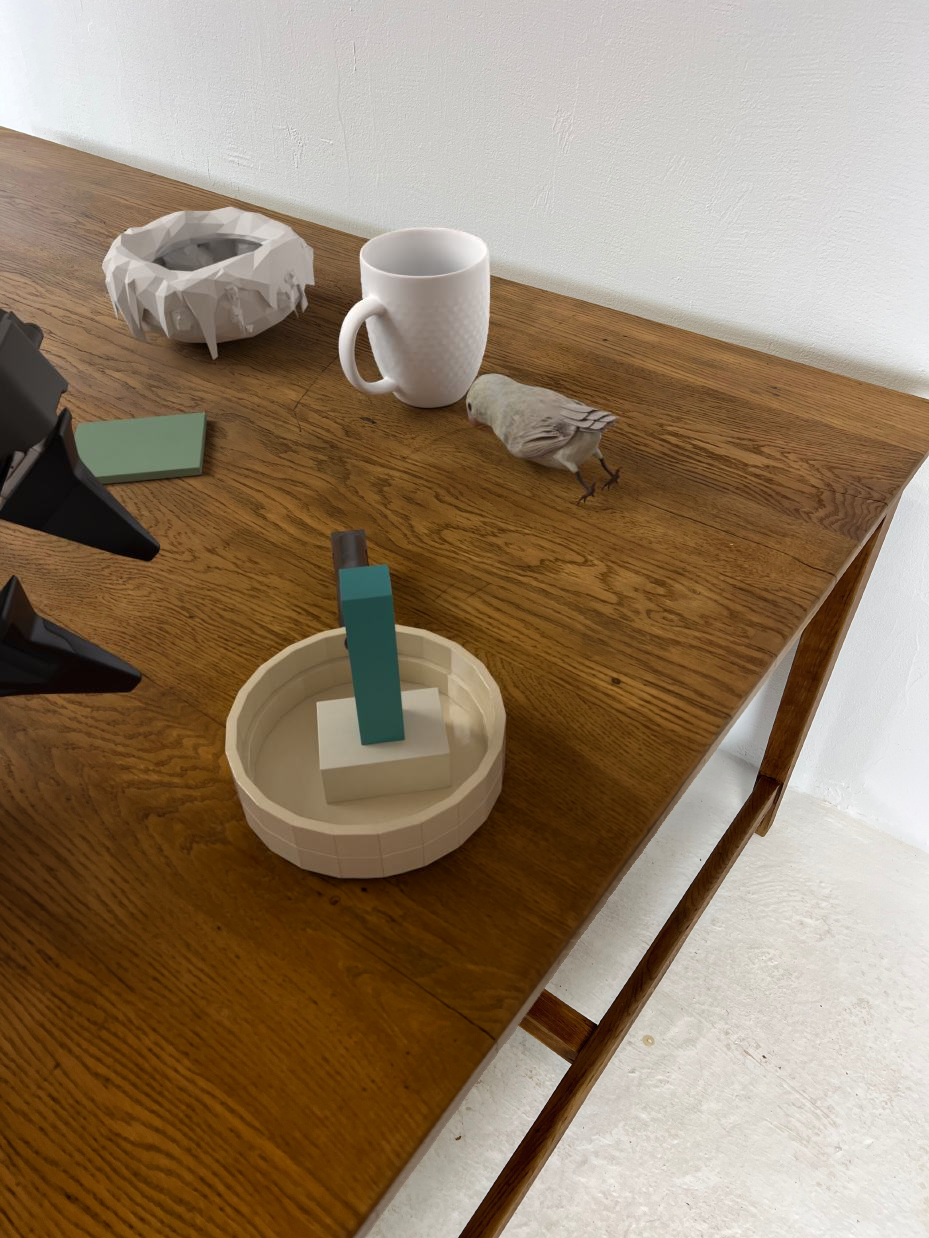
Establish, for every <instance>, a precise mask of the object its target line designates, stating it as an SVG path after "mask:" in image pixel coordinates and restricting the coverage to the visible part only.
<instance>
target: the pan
mask: <svg viewBox="0 0 929 1238" xmlns="http://www.w3.org/2000/svg"><path fill="white" fill-rule="evenodd" d="M395 630H396V641H397V652H398V664H399V675H400V687H401V692H402V691H411V690H419V689H427V688H435V687H438V690H439V696H440V701H441V707H442V712H443V717H444V723H445V728H446V734H447V739H448V745H449V750H450V765H451V787H448V788H440V789H433V790H425V791H418V792H410V793H403V794H395V795H388V796H380V797H373V798H365V799H358V800H350V801H343V802H335V803H328V804H327V803H326V799H325V793H324V788H323V783H322V777H321V772H320V759H319V739H318V720H317V702H321V701H329V700H337V699H345V698H353V697H355V695H354V688H353V680H352V673H351V666H350V658H349V651H348V650H347V649H346V647H345V645H344V642H345V639H346V629H345V627H342V628H339V627H338V628H333V629H329V630H323V631H321V632H318V633H316V634H314V635H311V636H309V637H306V638H304V639H301V640H300V641H297V642H295V643H292V644H291V645H288V646H286V647H285V648H284V649H282V650H281V651H280V652H278V653H277V654H275V655H274V656H272V657H271V658H270V659H268V660H267V661H266V662H264V663H262V664H261V665H259V667H258V668H257V669H256V670H255V672H253V674H252V675H251V676H250V678H249V679H248V680H247V681H246V682H245V683H244V684H243V685H242V687H241V688H240V689H239V691H238V692H237V695H236V697H235V699H234V702H233V704H232V707H231V709H230V710H229V713H228V716H227V718H226V723H225V724H226V725H225V743H224V744H225V747H224V751H225V756H226V760H227V763H228V767H229V770H230V773H231V776H232V780H233V783H234V787H235V791H236V794H237V798H238V800H239V802H240V806H241V808H242V811H243V814H244V817H245V819H246V823H247V824H248V826H249V827H250V829H252V831H253V832H254V833H255V834H256V835H257V837H258V838H259V839H260V840H261V842H262V843H264V844H265V846H266V847H267V848H268V850H270V851H271V852H273V853H275V854H277V855H278V856H280V857H281V858H283V859H285V860H287V861H288V862H290V863H291V864H293V865H296V866H297V867H299V868H300V869H302V870H305V871H310V872H314V873H317V874H321V875H325V876H330V877H333V878H336V879H337V878H338V879H378V878H380V879H381V878H387V877H390V876H391V877H392V876H395V875H400V874H404V873H408V872H411V871H414V870H417V869H421V868H424V867H426V866H428V865H431V864H432V863H433V862H435V861H437V860H439V859H441V858H442V857H445V856H446V855H448V854H450V853H451V852H453V851H455V850H457V849H459V847H461V846H462V845H463V844H464V843H465V842H466V841H467V840H468V839H469V838H470V837H471V836H472V835H473V834H474V833H475V832H476V831H477V830H478V829H479V828H480V827H481V826H482V825H483V824H484V823H485V822H486V821H487V819H488V817H489V815H490V813H491V812H492V810H493V807H494V805H495V803H496V802H497V800H498V798H499V796H500V794H501V792H502V789H503V780H504V773H505V765H506V743H507V742H506V741H507V713H506V709H505V705H504V701H503V697H502V693H501V689H500V687H499V685H498V683H497V682H496V680H495V679H494V677H493V676H492V675H491V673H490V672H489V670H488V669H487V667H486V666H485V664H484V663H483V662H482V661H481V660H480V659H478V658H477V657H476V656H475V655H473V654H472V653H471V652H469V651H468V650H466V648H464V647H463V646H462V645H461V644H459V643H457V642H456V641H453V640H451V639H449V638H446V637H444V636H441V635H439V634H437V633H434V632H432V631H430V630H427V629H424V628H418V627H412V626H406V625H402V624H397V623H395Z"/></svg>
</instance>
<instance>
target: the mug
mask: <svg viewBox="0 0 929 1238" xmlns="http://www.w3.org/2000/svg"><path fill="white" fill-rule="evenodd" d="M490 263H491V262H490V248H489V246H488V244H487V243H486V242H485V241H484V239H482V238H480V237H478V236H477V235H474V234H472V233H469V232H467V231H464V230H459V229H455V228H454V229H453V228H449V227H446V228H445V227H437V226H436V227H435V226H428V227H427V226H423V227H422V226H420V227H410V228H402V229H396V230H392V231H389V232H386V233H382V234H380V235H377V236H375V237H373V238H371V239H370V240H368V241H367V242H366V243H364V244H363V246H362V247H361V249H360V252H359V268H360V283H361V293H362V294H361V297H362V299H361V300H360V301H358V302H356V303H355V304H354V305H353V306H352V307H351V308H350V310H349V311H348V313H347V314H346V315H345V317H344V319H343V321H342V324H341V328H340V332H339V338H338V354H339V360H340V365H341V368H342V371H343V373H344V375H345V377H346V379H347V380H348V382H349V383H350V384H351V385H352V386H353V387H354V388H355V389H356V390H358V391H360V392H362V393H363V394H367V395H373V396H379V395H388V394H391V393H392V394H393V395H394V396H395V397H396V399H398V400H399V401H400V402H403V403H404V404H406V405H409V406H412V407H415V408H416V407H417V408H425V409H434V408H435V409H436V408H442V407H447V406H450V405H453V404H454V403H457V402H459V400H461V399H462V398H463V397H465V395H466V394H467V393H468V391H469V389H470V387H471V385H472V384H473V383H474V381H475V380H476V377H477V376H478V373H479V370H480V368H481V365H482V362H483V358H484V355H485V351H486V346H487V342H488V334H489V326H490V316H491V315H490V305H491V290H490V289H491V273H490V272H491V271H490V268H491V265H490ZM364 322H365V324H366V325H365V326H366V331H367V334H368V335H367V336H368V339H369V344H370V347H371V353H372V354H373V357H374V361H375V363H376V366H377V368H378V370H379V373H380V374H381V376H382V378H383V379H380V380H378V381H374V382H368V381H366V380H364V379H363V378H362V377H361V375H360V373H359V371H358V367H357V363H356V359H355V358H356V357H355V347H356V339H357V334H358V332H359V329H360V327H362V324H363V323H364Z"/></svg>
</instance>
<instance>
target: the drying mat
mask: <svg viewBox="0 0 929 1238" xmlns="http://www.w3.org/2000/svg"><path fill="white" fill-rule="evenodd" d="M206 413H207V412H205V411H203V412H192V413H191V412H190V413H181V414H169V415H158V416H147V417H134V418H125V419H115V420H114V419H113V420H103V421H90V422H81V423H80V422H79V423H78V424H77V427H76V429H75V430H76V431H75V433H74V438H75V442H76V446H77V450H78V454H79V456H80V458H81V460H82V461H83V463H84V464H85V465H86V466H87V467H88V469H89V470H90V471H91V472H92V473H93V474H94V476H95V477H96V478H97V479H98V480H99V481H100V482H101V484H102V485H109V484H110V485H111V484H119V483H129V482H141V481H152V480H161V479H162V480H163V479H171V478H172V479H173V478H182V477H193V476H202V474H203V465H204V464H203V462H204V454H205V444H206V432H207V423H208V422H207V421H208V418H207V414H206Z"/></svg>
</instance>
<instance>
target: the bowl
mask: <svg viewBox="0 0 929 1238" xmlns="http://www.w3.org/2000/svg"><path fill="white" fill-rule="evenodd" d="M314 257H315V256H314V248H312V247H311V246H310V245H309V244H307V242H306V241H305V239H303V238H302V237H301V236H299V234H298V233H296V232H295V231H294V230H293V229H292V226H289V225H287V224H285V223H282V222H280V221H277V220H274V219H272V218H271V217H268V216H266V215H264V214H262V213H260V212H253V211H251V212H250V211H245V210H244V209H243V210H242V209H239V208H237V207H233V206H227V207H223V208H217V209H214V210H180V211H175V212H172V213H169V214H167V215H163V216H161V217H159V218H157V219H155V220H154V221H151V222H149V223H147V224H145V225H143V226H141V227H139V226H138V227H129V228H128V229H126V230H125V231H124V232H122V233H120V234H119V235H118V236H117V237H116V238H115V240H113V241H112V243H111V245H110V248H109V250H108V251H107V253H106V255H105V257H104V259H103V261H102V265H101V268H102V270H103V273H104V275H105V281H104V282H105V285H106V288H107V291H108V294H109V297H110V302H111V304H112V308H113V310H114V314H115V316H116V320H117V321H119V312H120V313H121V315H122V317H123V319H124V320H125V322H126V324H127V326H128V328H129V329H130V331H131V334H132V335H133V337H135V338H136V339H138V340H140V341H142V342H143V343H145V344H147V345H148V344H149V343H148V340H147V337H146V334H145V330H144V329H146V330H147V331H148V332H151V333H153V334H156V335H158V336H162V337H165V338H168V339H169V340H170V339H171V340H175V341H179V342H183V343H191V344H192V343H195V344H196V343H198V344H199V343H201V344H207V347H208V349H209V352H210V355H211V357H212V360H214V361H215V359H216V358H218V357H219V355H218V346H217V344H218V343H225V342H232V341H237V340H244V339H248V338H249V339H250V338H253V337H255V336H257V335H259V334H261V333H263V332H265V331H266V330H268V329H270V328H271V327H274V326H275V325H277V324H279V323H280V322H282V321H284V320H285V318H286V317H288V316H289V315H290V314H291V313H292V312H293V311H294V312H295V315H296V318H297V319H299V315H298V312H297V311H298V310H297V308H296V307H297V305H298V303H299V302H300V307H301V312H302V313H304V312H305V310H306V309H307V307H308V305H309V302H308V299H307V296H306V293H305V288H306V287H308V285H310V286H316V285H315V284H316V283H315V275H314V267H313V266H314V265H313V262H314Z"/></svg>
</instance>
